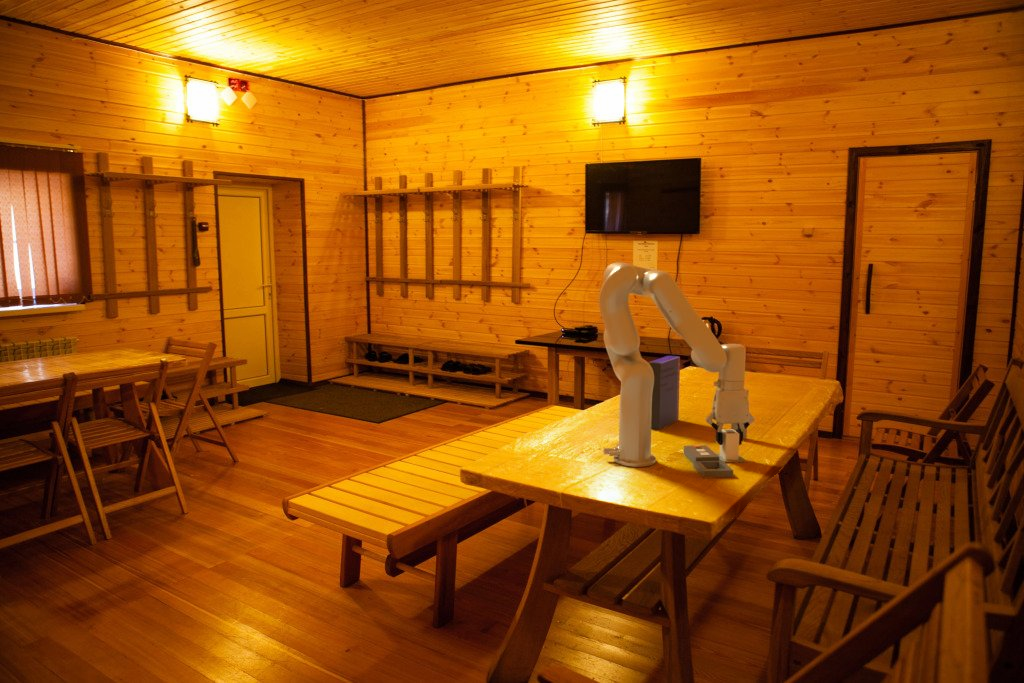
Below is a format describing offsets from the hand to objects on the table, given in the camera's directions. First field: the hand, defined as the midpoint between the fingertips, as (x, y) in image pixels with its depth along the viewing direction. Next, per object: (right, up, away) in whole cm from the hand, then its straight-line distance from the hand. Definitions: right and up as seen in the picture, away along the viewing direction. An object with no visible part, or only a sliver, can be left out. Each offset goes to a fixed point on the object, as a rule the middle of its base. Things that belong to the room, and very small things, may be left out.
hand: (729, 443), depth 215 cm
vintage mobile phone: (+10, -2, +23) cm, 25 cm away
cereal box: (-11, +1, +42) cm, 43 cm away
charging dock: (-9, -6, -6) cm, 12 cm away
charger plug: (0, -4, +1) cm, 4 cm away
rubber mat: (0, -5, +1) cm, 5 cm away
